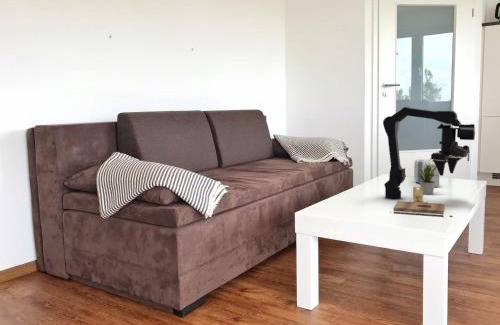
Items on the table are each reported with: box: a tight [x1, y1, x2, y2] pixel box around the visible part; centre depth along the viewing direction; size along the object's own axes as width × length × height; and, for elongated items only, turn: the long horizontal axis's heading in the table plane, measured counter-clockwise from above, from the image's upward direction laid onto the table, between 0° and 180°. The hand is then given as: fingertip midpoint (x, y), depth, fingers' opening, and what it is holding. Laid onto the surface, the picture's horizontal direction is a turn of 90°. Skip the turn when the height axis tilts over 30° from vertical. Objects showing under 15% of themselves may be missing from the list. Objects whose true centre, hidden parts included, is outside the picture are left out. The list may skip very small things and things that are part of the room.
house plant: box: [417, 162, 441, 196], centre depth 227 cm, size 14×14×16 cm
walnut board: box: [393, 200, 445, 218], centre depth 197 cm, size 19×23×3 cm
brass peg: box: [412, 186, 424, 203], centre depth 203 cm, size 4×4×7 cm
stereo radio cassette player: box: [413, 158, 440, 188], centre depth 254 cm, size 21×8×20 cm, turn 178°
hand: (446, 174), depth 203 cm, fingers open, 9 cm apart
